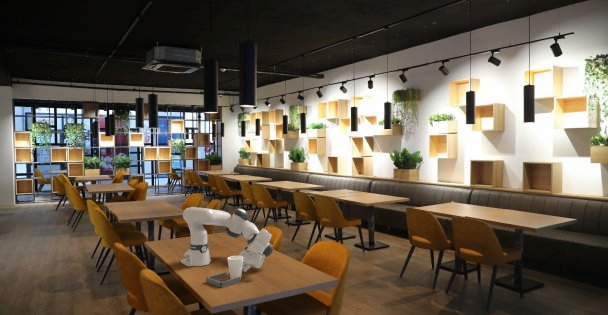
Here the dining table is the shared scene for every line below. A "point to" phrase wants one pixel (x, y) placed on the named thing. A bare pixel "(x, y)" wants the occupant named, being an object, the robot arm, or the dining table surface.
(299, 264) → the dining table surface
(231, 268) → the foam cup
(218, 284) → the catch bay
